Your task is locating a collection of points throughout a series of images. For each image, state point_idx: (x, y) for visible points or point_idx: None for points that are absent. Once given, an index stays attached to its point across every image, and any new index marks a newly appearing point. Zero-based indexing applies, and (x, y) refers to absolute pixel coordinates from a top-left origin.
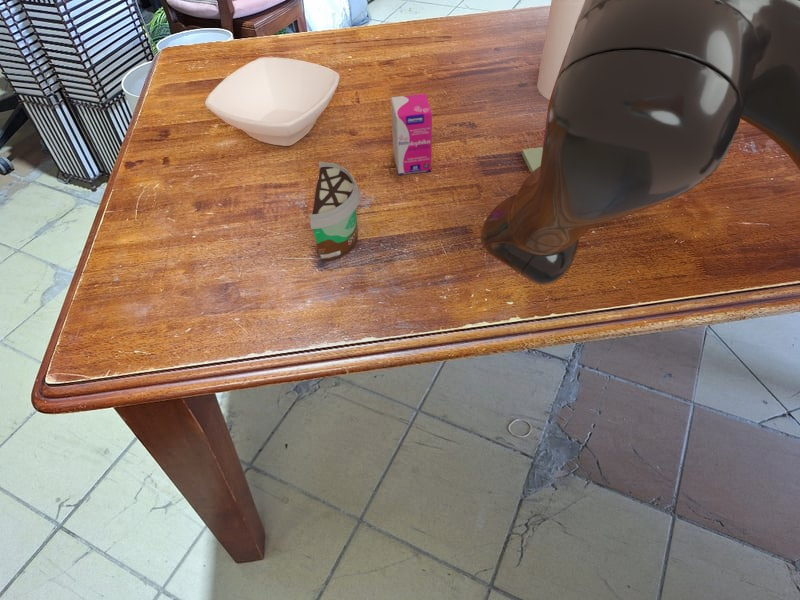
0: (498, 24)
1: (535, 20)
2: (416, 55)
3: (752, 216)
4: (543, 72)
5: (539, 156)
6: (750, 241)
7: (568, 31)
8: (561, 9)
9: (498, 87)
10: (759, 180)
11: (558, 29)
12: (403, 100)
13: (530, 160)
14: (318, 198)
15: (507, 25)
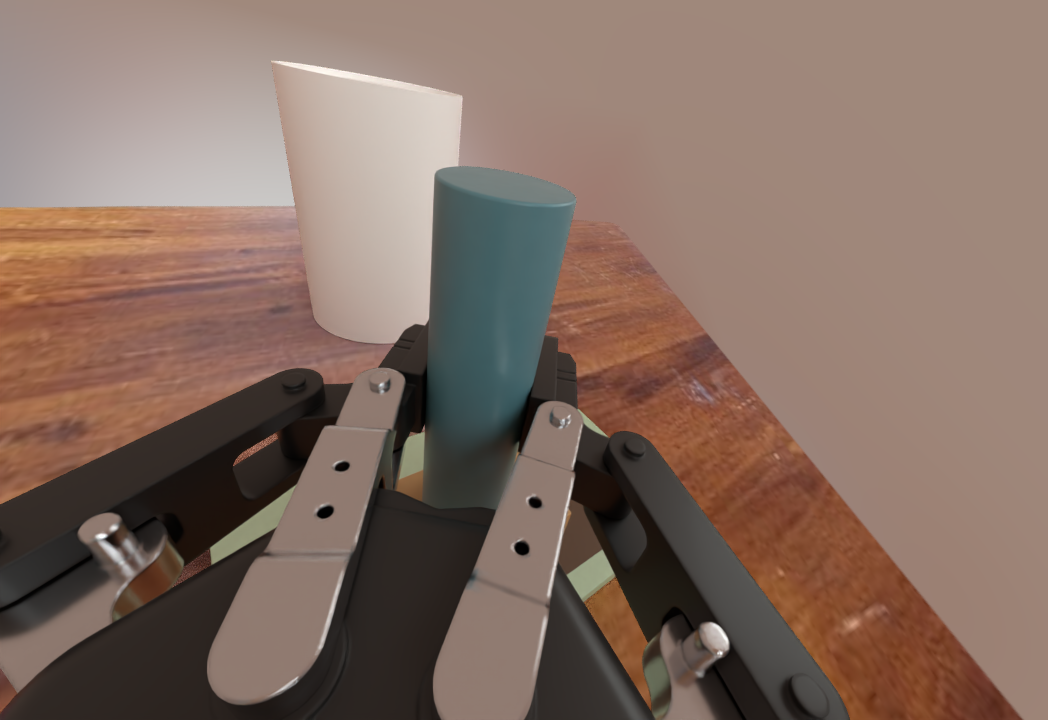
0: (264, 219)
1: None
2: (28, 257)
3: (840, 587)
4: (309, 282)
5: (264, 525)
6: (923, 712)
7: (328, 186)
8: (297, 133)
9: (218, 316)
10: (765, 464)
11: (306, 184)
12: None
13: (222, 556)
14: None
15: (280, 221)
